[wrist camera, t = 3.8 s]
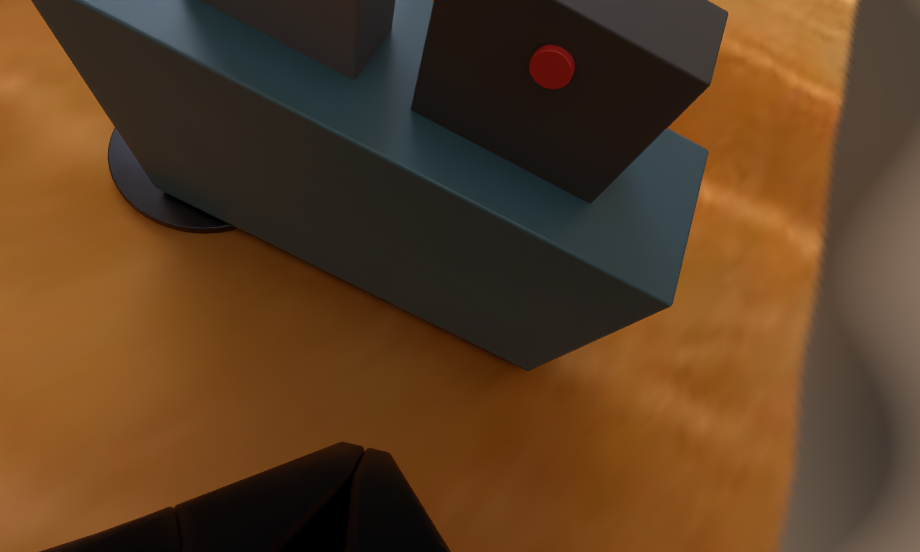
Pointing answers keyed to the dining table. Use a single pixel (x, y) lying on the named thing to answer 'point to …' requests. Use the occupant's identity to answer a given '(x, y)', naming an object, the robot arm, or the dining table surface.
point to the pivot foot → (155, 194)
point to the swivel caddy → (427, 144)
